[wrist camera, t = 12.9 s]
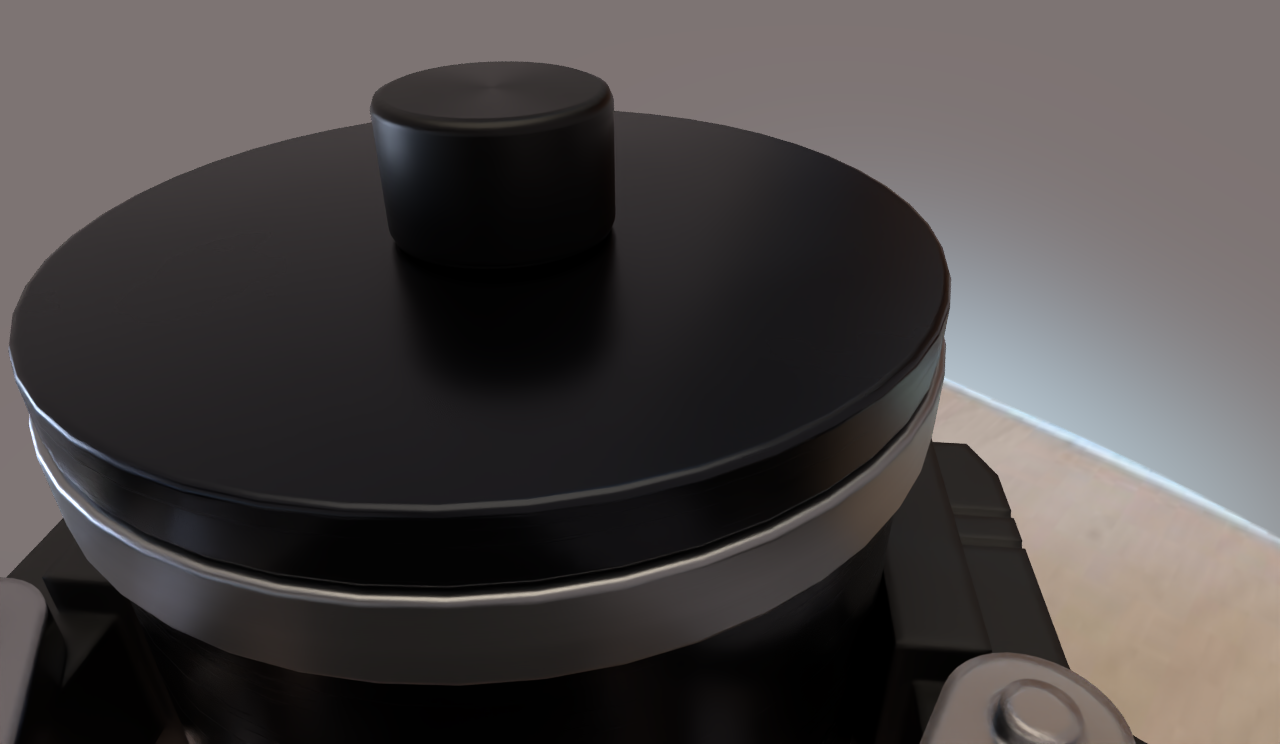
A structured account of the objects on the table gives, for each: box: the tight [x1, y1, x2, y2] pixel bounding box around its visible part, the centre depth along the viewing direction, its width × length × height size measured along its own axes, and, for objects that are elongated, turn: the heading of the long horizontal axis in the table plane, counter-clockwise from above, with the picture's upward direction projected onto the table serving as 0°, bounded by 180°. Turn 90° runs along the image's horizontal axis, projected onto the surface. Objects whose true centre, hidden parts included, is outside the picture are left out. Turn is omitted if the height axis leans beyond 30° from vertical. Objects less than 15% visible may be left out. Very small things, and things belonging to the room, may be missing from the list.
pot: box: [9, 62, 951, 744], centre depth 9 cm, size 6×6×11 cm
